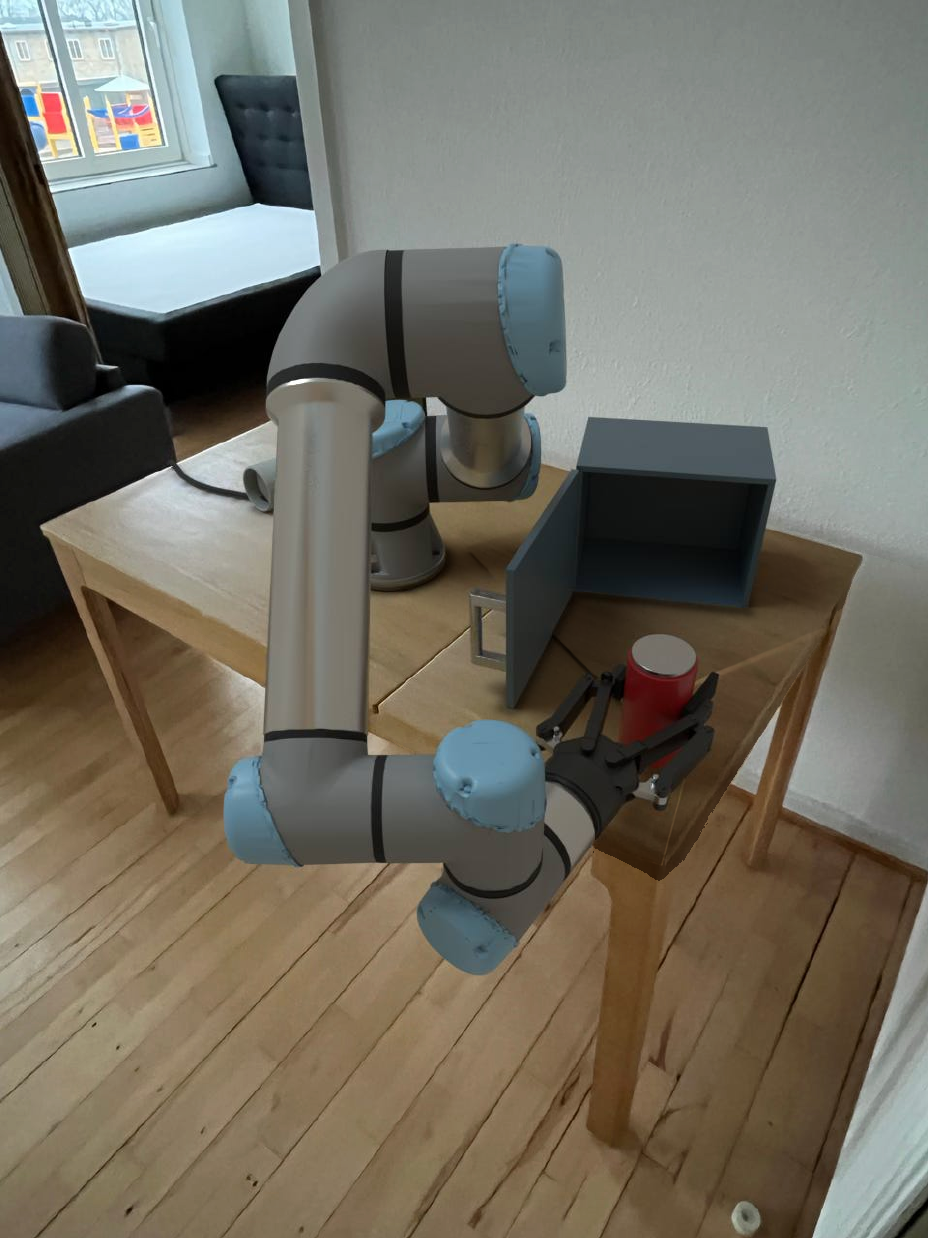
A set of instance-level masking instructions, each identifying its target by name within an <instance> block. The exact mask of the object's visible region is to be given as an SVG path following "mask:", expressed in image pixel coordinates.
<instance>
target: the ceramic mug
mask: <svg viewBox="0 0 928 1238" xmlns="http://www.w3.org/2000/svg"><path fill="white" fill-rule="evenodd" d="M275 473H276V457H274V458H273V457H272V458H271V459H267V460H264V461H261V462H258V463H255V464H251V465H248V466H246V467H245V468H244V470H243V473H242V483H243V484H242V485H243V486H244V491H245V493H247V495H248V497H249V499H248V500H250V502H251V503H252V505H253V506H254V507H255V509H258V511H261V512H269V511H271V510H274V494H275ZM260 496H264V497H265V498H266V499H267V501H268V502H266V501H264V500H262V499H261V498H260Z"/></svg>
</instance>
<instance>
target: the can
mask: <svg viewBox="0 0 928 1238" xmlns="http://www.w3.org/2000/svg"><path fill="white" fill-rule="evenodd" d="M626 660H627V661H626V665H627V667H626V676H625V685H624V693H623V698H622V702H621V703H622V704H621V713H620V721H619V727H618V728H619V730H618V739H617V743H621V744H624V745H628V744H629V743H631V742H633V741H635V740H639V741H641V740H643V739H645V738H647V737H649V736H651V735H652V734H654V733H656V732H658V731H660V730H661V729H663V728H665V727H667V726H669V725H670V724H672V723H674V722H676V721H678V720H680V719H681V718H682V713H683V708H684V706H685V705H686V704H687V703H688V701H689V700H690V699H691V697H692V696H693V695H694V690H695V686H696V685H695V684H696V680H697V674H698V669H699V664H700V663H699V662H700V661H699V658H698V655H697V653H696V651H695V650H694V648H693V647H692V646H691V644H689V642H687V641H685V640H684V639H682V638H679V637H677V636H675V635H670V634H663V633H658V634H657V633H654V634H648V635H645V636H642V637H640V638H639V639H637V640H636V641H635V642H634V644H632V646H630V648H629V650H628V652H627V658H626ZM681 748H682V747H681ZM681 748H680V749H681ZM680 749H678V750H676V751H675V752H673V753H671V754H669V755H668V756H666V757H664V758H662V759H661V760H659V761H657V762H655V763H654V764H652V765H650V766H648V767H647V768H663V767H664V766H665V765H666V764H667V763H668V762H669V761H670V760H671V759H672V758H673V757H674V756H675V755H676V754H677V753H678V751H679V750H680Z"/></svg>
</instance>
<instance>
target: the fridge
mask: <svg viewBox="0 0 928 1238" xmlns="http://www.w3.org/2000/svg"><path fill="white" fill-rule="evenodd" d="M583 432H584V433H583V437H582V441H581V445H580V449H579V453H578V456H577V462H576V465H575V470H579V483H578V501H577V518H576V535H575V552H574V569H573V586H572V592H583V593H593V594H594V593H595V594H606V595H614V596H625V597H635V598H645V599H655V600H664V601H675V602H685V603H694V604H695V603H696V604H706V605H716V606H727V607H735V608H736V607H737V608H744V609H745V608H746V609H747V608H749V605H750V601H751V596H752V591H753V587H754V582H755V578H756V573H757V570H758V569H757V568H758V564H759V560H760V556H761V550H762V546H763V543H764V542H763V541H764V537H765V534H766V528H767V524H768V520H769V516H770V515H769V514H770V510H771V506H772V502H773V496H774V492H775V488H776V484H777V475H776V469H775V464H774V463H775V462H774V457H773V451H772V446H771V440H770V434H769V429H768V426H753V425H739V424H722V423H721V424H720V423H719V424H718V423H704V422H703V423H701V422H685V421H666V420H652V419H651V420H650V419H649V420H648V419H635V418H634V419H632V418H618V417H617V418H614V417H600V416H599V417H597V416H588V417H587V421H586V425H585V429H584V431H583Z"/></svg>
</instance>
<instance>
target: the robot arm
mask: <svg viewBox="0 0 928 1238" xmlns="http://www.w3.org/2000/svg"><path fill="white" fill-rule="evenodd" d="M564 287H565V285H564V271H563V262H562V257H561V256H560V255H559V253H558V251H556V250H555V249H553V248H552V247H549V246H545V245H524V244H522V243H518V242H514V243H509V244H508V245H505V246H488V247H487V246H486V247H485V246H484V247H482V246H481V247H450V248H413V249H394V250H393V249H392V250H390V249H375V250H374V249H373V250H367V251H362V252H359V253H357V254H353V255H352V256H349V257H347V258H345V259H343V260H341V261H339V262H338V263H336V264H335V265H334V266H332V267H330V269H328V270H326V271H325V272H324V273H323V274H322V275H321V276H320V277H319V278H318V279H316V280H315V282H314V283H312V284H311V285H310V286H309V287H308V288H307V290H306V291H305V292H304V294H303V295H302V296H301V297H300V299H299V300H298V301H297V303H296V304H295V305H294V307H293V309H292V310H291V312H290V314H289V316H288V318H287V319H286V322H285V323H284V325H283V327H282V329H281V331H280V332H279V334H278V337H277V340H276V342H275V345H274V348H273V351H272V354H271V357H270V362H269V364H268V365H269V366H268V370H267V376H266V389H265V390H266V392H265V413H266V416H267V417H268V419H269V420H270V421H271V422H272V424H274V426H276V427H277V432H276V433H277V434H276V435H277V436H276V453H275V454H276V455H275V458H276V473H275V494H274V508H273V515H272V516H273V519H272V535H271V536H272V538H271V540H272V541H271V560H270V579H269V580H270V582H269V600H268V623H267V641H266V642H267V643H266V666H265V681H264V682H265V683H264V705H263V707H264V708H263V726H262V727H263V728H262V729H263V730H262V735H263V745H262V751H261V755H260V754H258V755H254V756H252V757H251V756H250V757H244V758H242V759H240V760H238V761H237V762H236V763H235V764H234V765H233V767H232V769H231V771H230V773H229V776H228V779H227V790H226V792H225V794H224V797H223V827H224V834H225V839H226V842H227V846H228V848H229V850H230V851H231V853H232V854H233V856H234V857H235V858H237V860H239V861H242V862H243V863H245V864H248V865H269V866H271V865H272V866H293V867H294V868H303V867H304V866H314V865H315V866H316V865H317V866H318V865H319V866H321V865H345V864H346V865H349V864H350V865H351V864H388V865H389V864H442V869H443V872H442V873H441V875H440V877H439V878H438V879H437V880H436V881H432V883H430V886H429V889H427V891H426V892H425V894H424V895H423V897H422V898H421V900H420V901H419V902H418V905H417V907H416V920H417V923H418V927H419V929H420V931H421V933H422V935H423V937H424V938H425V940H426V941H427V943H429V945H430V946H431V947H432V948H433V950H435V952H436V953H437V954H438V955H439V956H440V957H441V958H443V959H444V960H445V961H446V962H448V963H449V964H450V965H452V966H454V967H455V968H456V969H458V970H459V971H461V972H464V973H466V974H469V975H473V976H486V975H488V974H491V973H492V972H494V971H495V970H496V969H497V968H498V967H499V965H501V964H502V962H503V961H504V960H505V959H506V958H507V957H508V956H509V954H510V953H512V951H513V950H514V949H516V948H517V947H519V945H520V943H521V942H520V941H521V939H522V938H523V937H524V936H525V934H526V933H527V932H528V930H529V929H530V928H531V926H532V925H533V924H534V923H535V921H536V920H537V918H539V916H540V914H541V913H542V911H543V910H544V909H545V908H546V907H547V905H548V904H549V902H551V900H552V899H553V897H554V896H555V894H556V893H557V892H558V891H559V889H560V888H561V887H562V885H563V884H564V882H565V881H566V880H567V879H568V878H569V876H570V875H571V873H572V872H573V871H574V869H575V868H576V867H577V865H579V863H580V862H581V861H582V859H583V857H585V855H586V854H587V853H588V851H589V850H590V848H591V847H592V846H593V845H594V844H595V841H596V840H597V839H598V838H600V836H601V835H602V833H603V832H604V831H605V830H606V828H607V827H608V826H609V824H610V823H611V822H612V820H614V818H615V817H616V815H617V814H618V813H619V811H620V810H621V808H622V807H623V806H624V805H626V804H627V803H630V802H632V801H634V800H635V799H636V798H638V799H641V800H645V801H649V802H652V807H653V809H654V810H656V811H659V812H662V811H665V810H666V809H667V807H668V804H669V800H670V797H671V794H672V793H673V792H674V791H675V790H676V789H677V788H678V786H680V785H681V783H683V781H684V780H685V779H686V778H687V777H688V776H689V775H690V774H691V773H692V771H693V770H694V769H696V767H697V766H698V765H699V764H700V763H701V762H702V761H703V760H704V759H705V758H706V757H707V756H708V754H710V752H712V751H711V750H712V747H713V742H714V737H715V733H716V731H715V730H716V729H715V728H714V727H713V726H711V725H705V724H706V723H707V722H708V720H709V719H710V717H712V712H713V708H714V701H713V700H712V699H713V698H714V697H715V695H716V692H717V687H718V683H719V677H720V673H718V672H715V671H711V672H710V673H709V674H708V676H706V678H705V680H704V681H702V683H701V685H700V686H699V687H698V688H697V690H696V691H695V692H694V693H693V696H692V697H691V699H690V700H689V701H688V703H687V704H686V705H685V706H684V708H683V713H682V718H681V719H680V720H678V721H676V722H674V723H672V724H670V725H669V726H667V727H665V728H663V729H661V730H660V731H658V732H656V733H654V734H652V735H651V736H649V737H647V738H645V739H643V740H641V741H639V740H635V741H633V742H631V743H629V744H628V745H624V744H621V743H618V741H614V740H613V739H611V738H610V737H609V736H608V735H605V734H603V732H604V731H603V730H604V727H605V724H606V719H607V716H608V712H609V709H610V706H611V705H610V704H611V701H612V698H613V699H614V700H616V701H618V702H621V700H623V693H624V685H625V676H626V667H627V664H624V663H622V662H621V663H618V664H617V665H616V666H615V667H614V668H613V669H612V670H611V671H608V670H605V671H602V672H601V673H600V678H595V677H594V675H593V674H591V673H584V674H583V675H581V677H580V678H579V679H578V681H577V682H576V683H575V684H574V686H573V687H572V689H571V690H570V691H569V693H568V694H567V695H566V697H565V698H564V699H563V700H562V702H561V703H560V704H559V706H558V707H557V709H555V711H554V712H553V714H551V716H550V717H549V718H546V719H545V720H543V721H542V722H540V723H539V724H537V725H536V727H535V739H534V738H533V737H532V735H530V734H529V733H528V732H526V731H525V730H524V729H522V728H521V727H519V726H517V725H515V724H513V723H511V722H507V721H504V720H499V719H478V720H477V719H475V720H473V721H471V722H470V723H469V724H467V725H464V726H462V727H461V726H457V727H455V728H453V729H452V730H450V731H449V732H448V733H447V734H446V735H444V737H443V739H442V740H441V741H440V743H439V744H438V747H437V749H436V753H422V754H421V753H419V754H418V753H416V754H413V753H411V754H369V746H368V736H369V733H370V732H369V730H370V729H369V726H370V725H369V724H370V721H369V719H370V712H369V711H370V657H371V655H370V654H371V653H370V652H371V651H370V650H371V649H370V647H371V639H370V638H371V590H376V591H383V592H387V591H388V592H389V591H390V592H391V591H401V590H406V589H407V590H408V589H412V588H414V587H418V586H421V585H423V584H426V583H428V582H429V581H431V580H432V579H434V578H435V577H436V576H438V575H439V574H440V572H441V571H442V570H443V569H444V566H445V564H446V547H445V543H444V541H443V538H442V536H441V534H440V532H439V530H438V527H437V525H436V523H435V521H434V520H435V519H434V518H433V515H432V514H431V506H430V504H440V503H479V502H506V503H513V502H516V501H523V500H528V499H530V498H531V497H532V496H533V495H534V494H535V492H536V491H537V488H538V485H539V475H540V473H541V467H542V434H541V427H540V424H539V422H538V419H537V418H536V416H535V415H534V414H532V413H530V412H525V409H526V406H527V405H528V404H530V403H531V401H532V400H533V399H534V398H535V397H541V398H543V397H546V396H547V395H551V394H552V395H553V394H557V393H560V392H562V391H563V390H564V389H565V387H566V385H567V381H568V380H567V374H568V369H567V368H568V366H567V365H568V359H567V332H566V331H567V329H566V327H567V326H566V309H565V307H566V306H565V305H566V304H565V294H564V292H565V288H564ZM388 398H426V399H427V398H436V399H437V400H438V401H439V402H440V403H442V404H443V405H444V406H445V411H446V414H437V415H427V416H425V412H424V411H423V409H422V407H421V406H420V405H419V404H418V403H415V402H413V401H411V402H408V401H407V400H390V401H386V399H388ZM165 466H166V467H168V468H171V467H172V469H173V470H174V471H175V473H176V475H178V476H179V477H180V478H182V479H183V480H184V481H185V482H187V483H189V484H190V485H192V486H195V487H196V488H199V489H202V490H204V491H208V492H211V493H214V494H219V495H222V496H223V495H225V496H229V497H235V498H239V499H246V500H250V499H249V497H248V495H247V493H246V492H245V491H244V492H243V491H238V490H233V489H227V488H222V487H217V486H213V485H210V484H206V483H204V482H201V481H199V480H196V479H194V478H192V477H191V476H189V475H188V474H186V473H185V472H184V471H183V470H182V469H181V468H180V466H179V465H178V463H177V462H176V461H175V460H174V459H169V460H167V461H166V465H165ZM260 498H261V499H262V500H264V501H266V502H268V501H267V499H266V498H265V497H264V496H260ZM592 698H594V702H593V705H592V709H591V711H590V716H589V719H588V720H587V723H586V727H585V730H584V734H583V736H580V737H575V738H571V739H568V740H563V738H564V737H565V735H566V734H567V733H568V731H569V730H570V729H571V727H572V726H573V724H574V723H575V722H576V721H577V719H578V717H579V716H580V715H581V714H582V712H583V710H584V709H585V708H586V706H587V705H588V703H589V702H590V701H591V699H592ZM681 747H682V748H681ZM680 748H681V749H680ZM678 749H680V750H679V751H678V753H677V754H676V755H675V756H674V757H673V758H672V759H671V760H670V761H669V762H668V763H667V764H666V765H665V766H663V767H661V770H660V771H659V773H658V774H657V773H654V774H652V776H651V777H649V778H648V779H647V781H644V782H641V781H640V778H639V776H640V775H642V774H643V773H644V772H645V770H646V769H647V768H649V767H648V766H650V765H652V764H654V763H655V762H657V761H659V760H661V759H662V758H664V757H666V756H668V755H669V754H671V753H673V752H675V751H676V750H678ZM545 751H548V752H549V754H551V756H549V758H547V760H546V761H545V760H544V756H543V753H542V752H545Z"/></svg>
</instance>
